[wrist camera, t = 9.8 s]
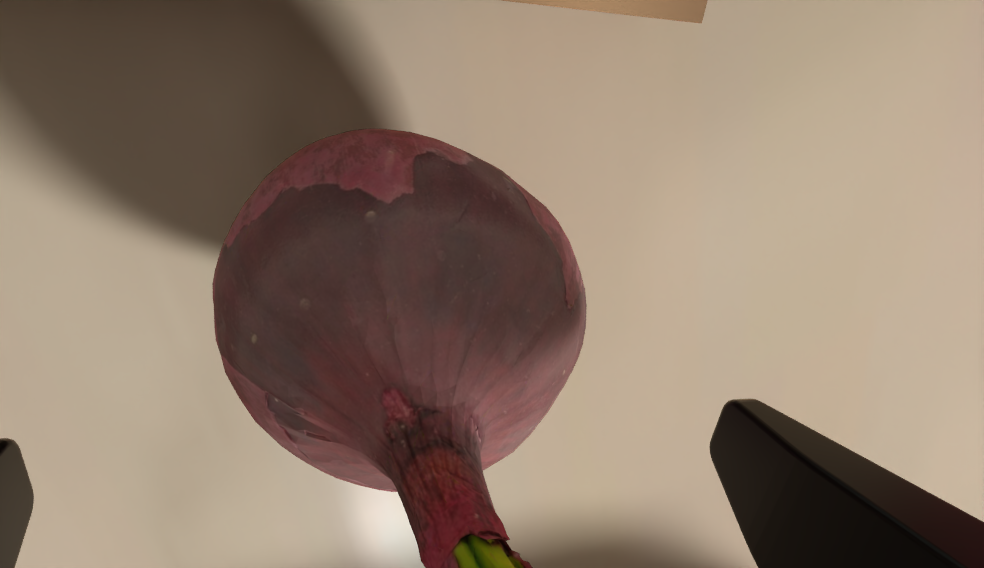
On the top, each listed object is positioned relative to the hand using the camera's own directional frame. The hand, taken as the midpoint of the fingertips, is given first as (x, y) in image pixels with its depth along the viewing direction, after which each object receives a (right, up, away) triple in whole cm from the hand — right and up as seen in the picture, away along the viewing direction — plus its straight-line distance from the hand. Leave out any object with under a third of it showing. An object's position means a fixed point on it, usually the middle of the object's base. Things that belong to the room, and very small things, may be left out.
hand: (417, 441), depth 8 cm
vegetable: (-1, +3, +6) cm, 7 cm away
